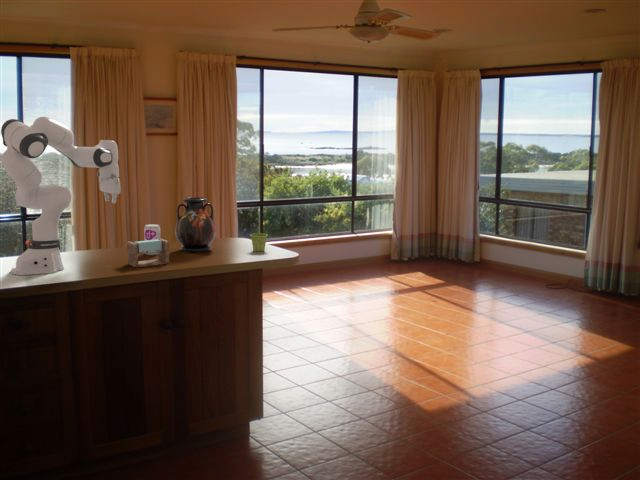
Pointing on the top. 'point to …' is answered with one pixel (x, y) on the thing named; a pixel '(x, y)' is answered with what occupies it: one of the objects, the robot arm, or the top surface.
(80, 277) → the top surface
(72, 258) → the top surface
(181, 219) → the amphora vase
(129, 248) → the peg frame
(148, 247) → the light blue block
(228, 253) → the top surface
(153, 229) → the supplement can
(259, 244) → the plant pot
